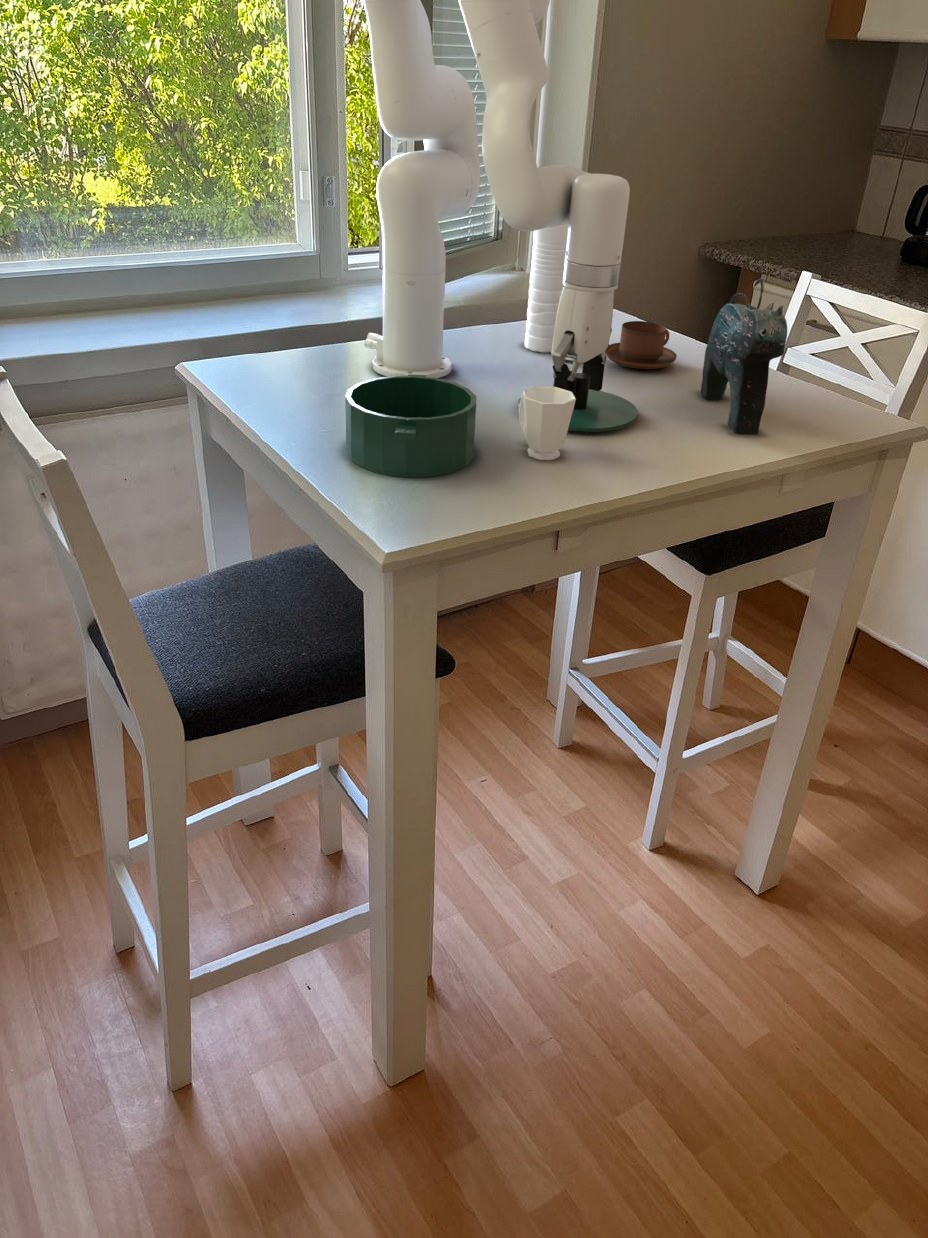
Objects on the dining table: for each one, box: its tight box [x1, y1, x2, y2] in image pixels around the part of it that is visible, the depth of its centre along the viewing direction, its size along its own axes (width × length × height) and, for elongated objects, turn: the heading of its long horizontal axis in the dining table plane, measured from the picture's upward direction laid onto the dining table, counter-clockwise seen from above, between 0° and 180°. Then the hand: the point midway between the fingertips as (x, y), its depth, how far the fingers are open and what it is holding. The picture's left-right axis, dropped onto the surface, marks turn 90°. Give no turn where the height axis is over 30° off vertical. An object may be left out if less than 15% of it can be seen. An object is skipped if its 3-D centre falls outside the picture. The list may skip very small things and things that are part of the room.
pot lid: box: [517, 372, 639, 433], centre depth 141 cm, size 17×17×6 cm
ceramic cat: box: [700, 278, 788, 435], centre depth 141 cm, size 20×6×20 cm, turn 5°
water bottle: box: [524, 224, 568, 354], centre depth 165 cm, size 9×6×25 cm
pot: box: [344, 374, 477, 478], centre depth 126 cm, size 16×22×8 cm
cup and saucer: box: [606, 320, 678, 370], centre depth 164 cm, size 12×12×6 cm
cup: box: [518, 386, 576, 461], centre depth 128 cm, size 7×10×8 cm
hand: (577, 397), depth 142 cm, fingers open, 9 cm apart
